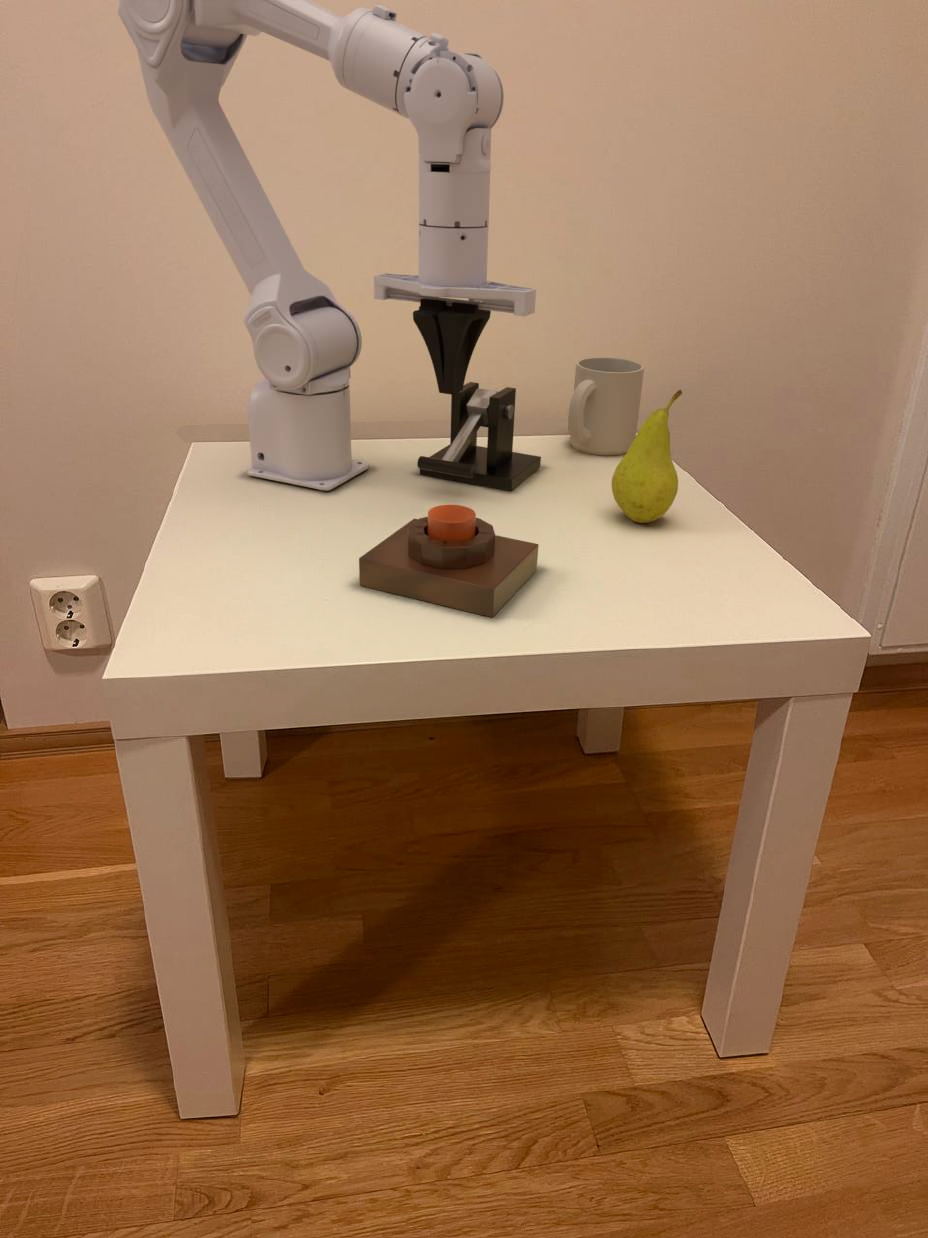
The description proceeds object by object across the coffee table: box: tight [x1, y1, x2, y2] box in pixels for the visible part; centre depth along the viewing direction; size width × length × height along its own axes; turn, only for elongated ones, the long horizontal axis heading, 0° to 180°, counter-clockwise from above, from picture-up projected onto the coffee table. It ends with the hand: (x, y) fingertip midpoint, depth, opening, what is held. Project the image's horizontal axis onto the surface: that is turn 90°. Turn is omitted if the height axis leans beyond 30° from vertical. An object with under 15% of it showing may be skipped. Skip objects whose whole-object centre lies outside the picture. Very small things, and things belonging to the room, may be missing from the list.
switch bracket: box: [419, 381, 542, 492], centre depth 91 cm, size 8×10×8 cm
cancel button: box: [427, 504, 477, 541], centre depth 68 cm, size 4×4×2 cm
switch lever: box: [416, 387, 498, 478], centre depth 87 cm, size 11×6×2 cm, turn 156°
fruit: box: [611, 389, 683, 524], centre depth 79 cm, size 6×6×12 cm
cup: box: [567, 356, 645, 456], centre depth 98 cm, size 7×10×9 cm
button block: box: [358, 516, 540, 618], centre depth 69 cm, size 11×9×4 cm
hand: (450, 391), depth 80 cm, fingers closed
